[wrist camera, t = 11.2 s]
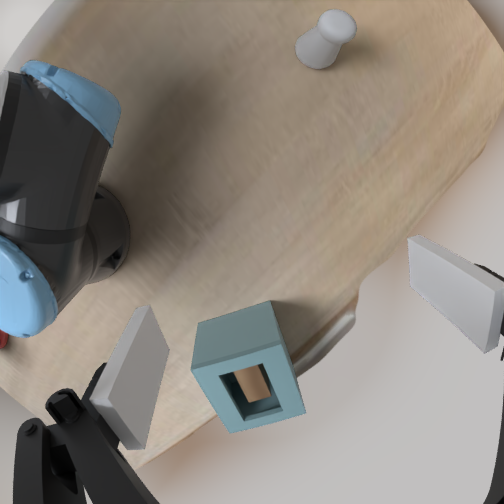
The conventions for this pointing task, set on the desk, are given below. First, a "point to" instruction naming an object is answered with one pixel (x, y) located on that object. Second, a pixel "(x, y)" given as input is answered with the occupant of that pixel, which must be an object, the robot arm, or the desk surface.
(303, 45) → the salt shaker
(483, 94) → the desk surface
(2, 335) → the stacking bear
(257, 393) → the block
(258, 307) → the coin box
